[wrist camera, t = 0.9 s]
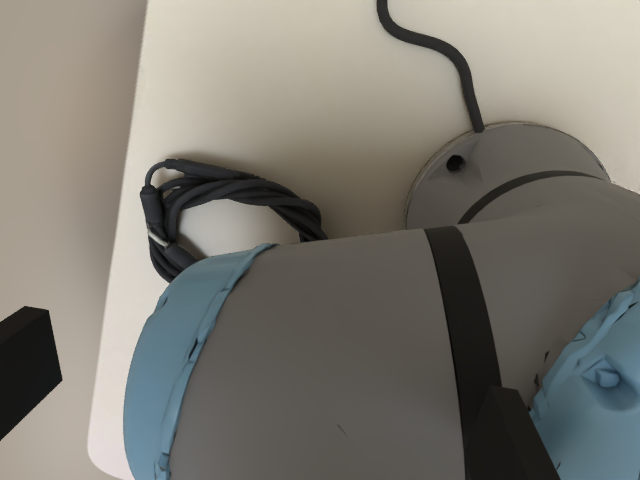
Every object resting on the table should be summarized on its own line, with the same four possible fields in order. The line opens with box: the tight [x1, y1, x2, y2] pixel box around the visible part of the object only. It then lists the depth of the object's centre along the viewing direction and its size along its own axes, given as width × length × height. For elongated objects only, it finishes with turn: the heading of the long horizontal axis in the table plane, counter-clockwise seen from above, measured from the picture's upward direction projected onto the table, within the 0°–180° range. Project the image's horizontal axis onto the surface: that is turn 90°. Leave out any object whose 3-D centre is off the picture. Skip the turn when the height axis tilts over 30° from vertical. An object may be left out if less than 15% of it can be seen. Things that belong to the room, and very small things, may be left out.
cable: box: [140, 159, 328, 283], centre depth 33 cm, size 17×14×4 cm
